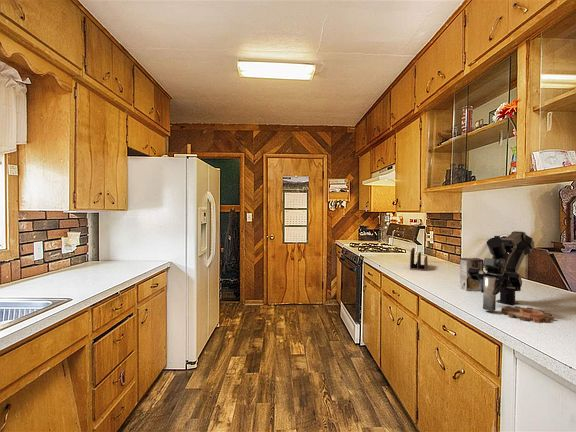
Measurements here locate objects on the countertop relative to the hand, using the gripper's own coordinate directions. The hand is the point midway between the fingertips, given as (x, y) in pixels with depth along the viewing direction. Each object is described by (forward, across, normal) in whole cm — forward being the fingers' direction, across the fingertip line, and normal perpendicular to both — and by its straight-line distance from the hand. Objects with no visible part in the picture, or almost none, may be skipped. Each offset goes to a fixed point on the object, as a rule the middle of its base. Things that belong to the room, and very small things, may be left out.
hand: (488, 293), depth 134 cm
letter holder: (-46, -70, +58) cm, 102 cm away
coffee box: (-19, -20, +31) cm, 42 cm away
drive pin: (+4, 0, +6) cm, 7 cm away
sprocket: (0, +11, +11) cm, 16 cm away
